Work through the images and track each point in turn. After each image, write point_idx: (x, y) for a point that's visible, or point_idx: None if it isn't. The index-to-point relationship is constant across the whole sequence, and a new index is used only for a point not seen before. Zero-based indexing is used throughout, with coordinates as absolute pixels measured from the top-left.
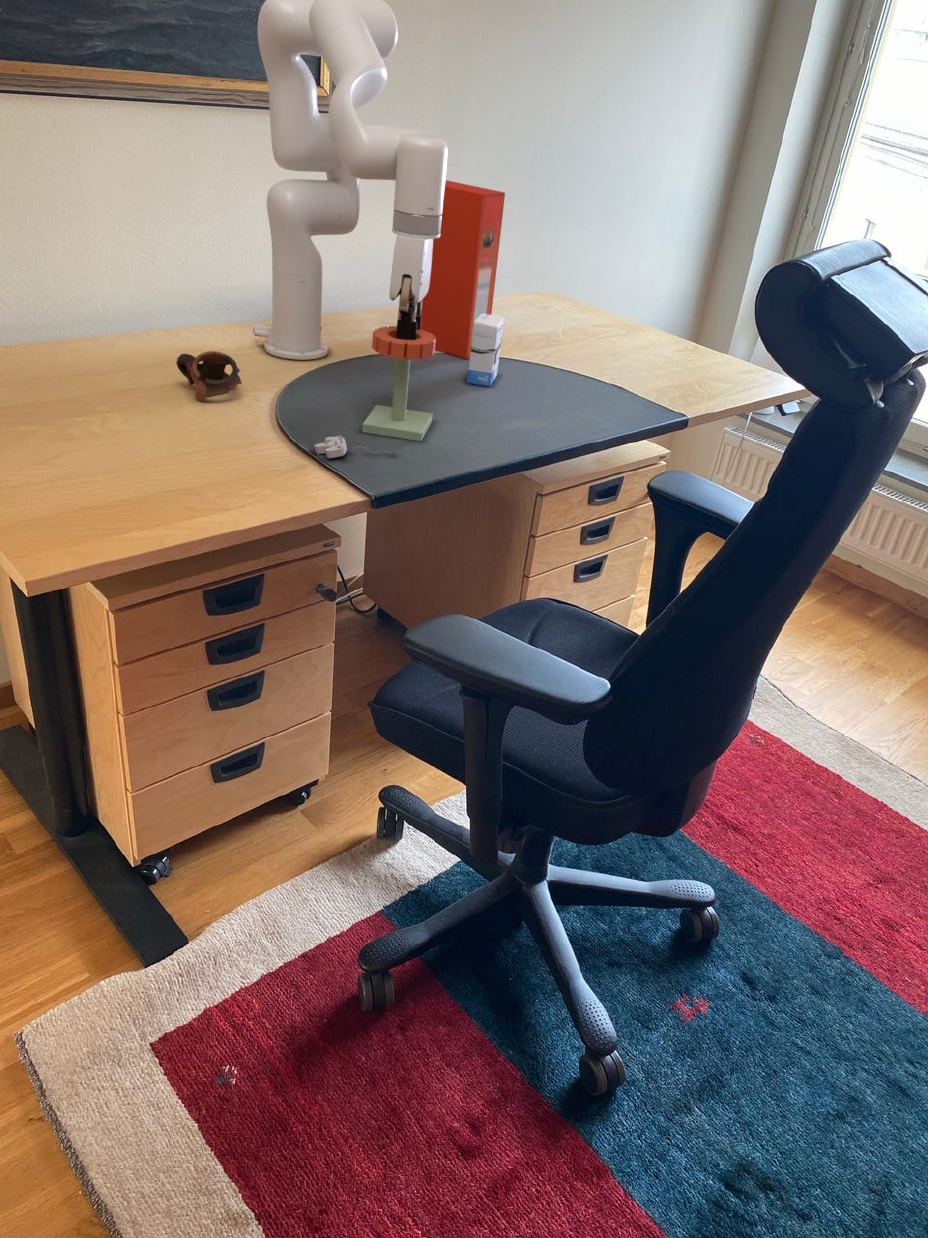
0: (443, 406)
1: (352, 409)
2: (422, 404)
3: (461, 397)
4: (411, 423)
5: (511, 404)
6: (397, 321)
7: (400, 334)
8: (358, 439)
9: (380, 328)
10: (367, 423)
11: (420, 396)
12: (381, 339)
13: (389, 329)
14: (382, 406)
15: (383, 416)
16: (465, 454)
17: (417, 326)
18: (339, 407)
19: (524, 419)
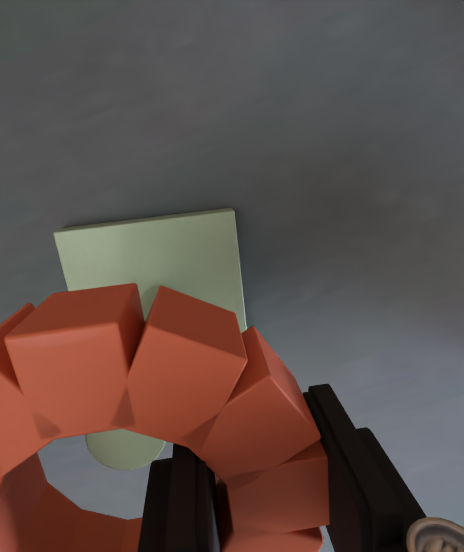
0: (371, 342)
1: (224, 132)
2: (362, 293)
3: (456, 358)
4: None
5: (451, 459)
6: (167, 532)
7: (148, 485)
8: (6, 238)
9: (155, 348)
10: (63, 244)
11: (423, 269)
12: None
13: (179, 409)
14: (230, 231)
15: (149, 264)
16: (89, 472)
17: (333, 542)
18: (219, 87)
19: None
